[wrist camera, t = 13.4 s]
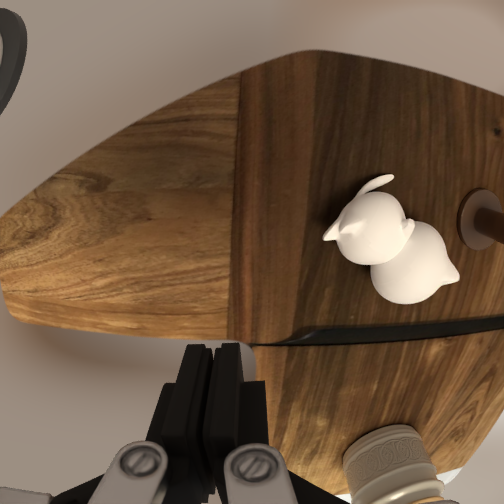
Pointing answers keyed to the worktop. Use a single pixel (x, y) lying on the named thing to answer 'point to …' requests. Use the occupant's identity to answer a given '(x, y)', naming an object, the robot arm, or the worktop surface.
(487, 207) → the marker post
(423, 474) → the jar
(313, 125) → the worktop surface
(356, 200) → the cat figurine
